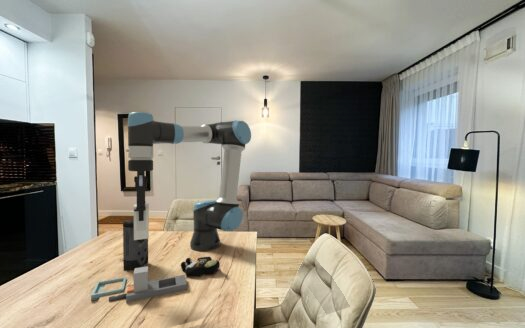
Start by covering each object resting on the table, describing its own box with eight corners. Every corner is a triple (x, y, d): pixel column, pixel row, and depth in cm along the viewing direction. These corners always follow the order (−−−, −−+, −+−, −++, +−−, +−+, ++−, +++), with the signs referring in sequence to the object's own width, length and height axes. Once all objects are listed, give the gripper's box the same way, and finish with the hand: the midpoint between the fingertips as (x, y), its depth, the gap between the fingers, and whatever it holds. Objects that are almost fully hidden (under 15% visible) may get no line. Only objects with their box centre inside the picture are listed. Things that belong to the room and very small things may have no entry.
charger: (148, 234, 84) (148, 203, 84) (148, 238, 80) (148, 205, 80) (134, 236, 82) (134, 203, 82) (133, 240, 78) (133, 206, 78)
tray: (126, 281, 88) (126, 276, 88) (123, 294, 80) (123, 289, 80) (97, 286, 85) (97, 281, 85) (91, 300, 76) (91, 295, 76)
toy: (190, 254, 103) (222, 247, 100) (195, 271, 103) (227, 265, 99) (173, 267, 91) (208, 260, 87) (179, 287, 91) (214, 280, 87)
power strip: (184, 282, 88) (184, 258, 87) (187, 292, 81) (186, 266, 81) (111, 297, 78) (110, 270, 78) (107, 310, 72) (106, 280, 72)
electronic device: (134, 273, 95) (133, 222, 94) (121, 271, 96) (120, 222, 95) (150, 262, 104) (149, 217, 103) (138, 261, 105) (137, 216, 104)
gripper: (129, 158, 87) (130, 222, 87) (126, 159, 71) (126, 237, 72) (152, 159, 90) (152, 220, 91) (154, 159, 74) (154, 234, 75)
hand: (141, 227), depth 81 cm, fingers closed on charger, 4 cm apart
